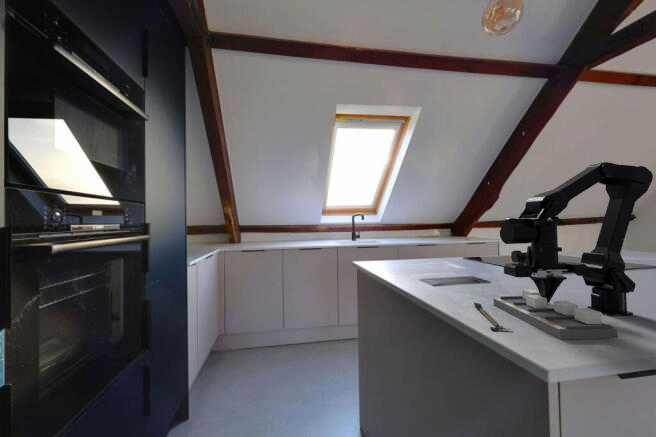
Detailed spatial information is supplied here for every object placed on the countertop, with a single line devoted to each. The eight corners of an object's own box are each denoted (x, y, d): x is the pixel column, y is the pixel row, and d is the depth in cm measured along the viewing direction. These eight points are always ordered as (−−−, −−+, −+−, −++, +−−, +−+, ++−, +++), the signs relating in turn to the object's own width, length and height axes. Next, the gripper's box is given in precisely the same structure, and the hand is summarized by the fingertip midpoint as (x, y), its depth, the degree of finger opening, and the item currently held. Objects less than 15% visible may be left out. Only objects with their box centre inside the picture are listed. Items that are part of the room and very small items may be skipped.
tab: (537, 303, 79) (537, 294, 79) (547, 307, 75) (546, 298, 75) (526, 304, 79) (525, 295, 79) (535, 308, 75) (535, 298, 75)
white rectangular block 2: (566, 310, 73) (566, 300, 73) (578, 315, 69) (578, 304, 69) (554, 310, 73) (554, 301, 73) (566, 315, 69) (565, 305, 69)
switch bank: (534, 304, 86) (534, 295, 86) (617, 338, 61) (617, 325, 61) (493, 305, 86) (493, 296, 86) (560, 339, 61) (559, 327, 61)
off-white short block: (587, 318, 67) (587, 307, 67) (602, 324, 63) (602, 312, 63) (574, 318, 67) (574, 308, 67) (588, 324, 63) (588, 313, 63)
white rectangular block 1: (532, 297, 85) (532, 289, 85) (541, 301, 81) (541, 292, 81) (522, 298, 85) (522, 289, 85) (531, 301, 81) (530, 292, 81)
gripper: (556, 240, 85) (557, 293, 85) (491, 241, 85) (493, 295, 85) (590, 242, 74) (592, 304, 74) (516, 244, 74) (518, 306, 74)
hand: (546, 302), depth 77 cm, fingers closed
